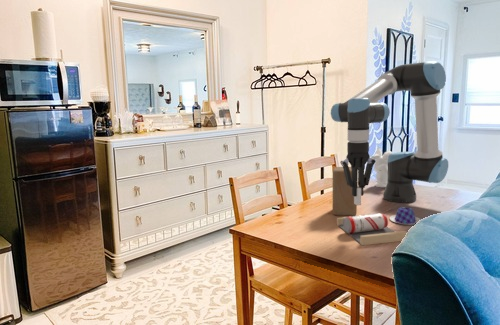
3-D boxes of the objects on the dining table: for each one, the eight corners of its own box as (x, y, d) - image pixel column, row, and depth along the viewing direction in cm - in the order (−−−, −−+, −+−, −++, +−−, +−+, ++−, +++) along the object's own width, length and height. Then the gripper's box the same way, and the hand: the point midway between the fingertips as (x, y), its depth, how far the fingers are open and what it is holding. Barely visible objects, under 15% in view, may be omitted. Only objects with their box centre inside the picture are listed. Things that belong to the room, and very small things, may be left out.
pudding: (424, 226, 144) (425, 213, 143) (392, 225, 147) (392, 213, 146) (417, 217, 156) (418, 205, 155) (387, 216, 158) (388, 204, 157)
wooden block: (356, 216, 159) (357, 170, 155) (332, 215, 161) (332, 170, 157) (354, 209, 168) (355, 166, 165) (332, 209, 170) (332, 166, 167)
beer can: (341, 216, 141) (378, 211, 145) (342, 232, 141) (380, 227, 145) (349, 218, 135) (388, 213, 139) (350, 235, 135) (389, 230, 139)
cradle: (375, 220, 152) (375, 213, 152) (406, 240, 131) (407, 232, 130) (336, 224, 149) (336, 217, 149) (362, 245, 128) (362, 237, 128)
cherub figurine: (395, 187, 205) (397, 148, 201) (376, 189, 202) (377, 150, 198) (382, 182, 217) (383, 145, 213) (363, 184, 213) (364, 147, 209)
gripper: (369, 139, 138) (368, 200, 142) (336, 141, 136) (336, 203, 140) (380, 141, 131) (378, 205, 135) (345, 143, 129) (345, 208, 133)
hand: (357, 204), depth 137 cm, fingers closed
